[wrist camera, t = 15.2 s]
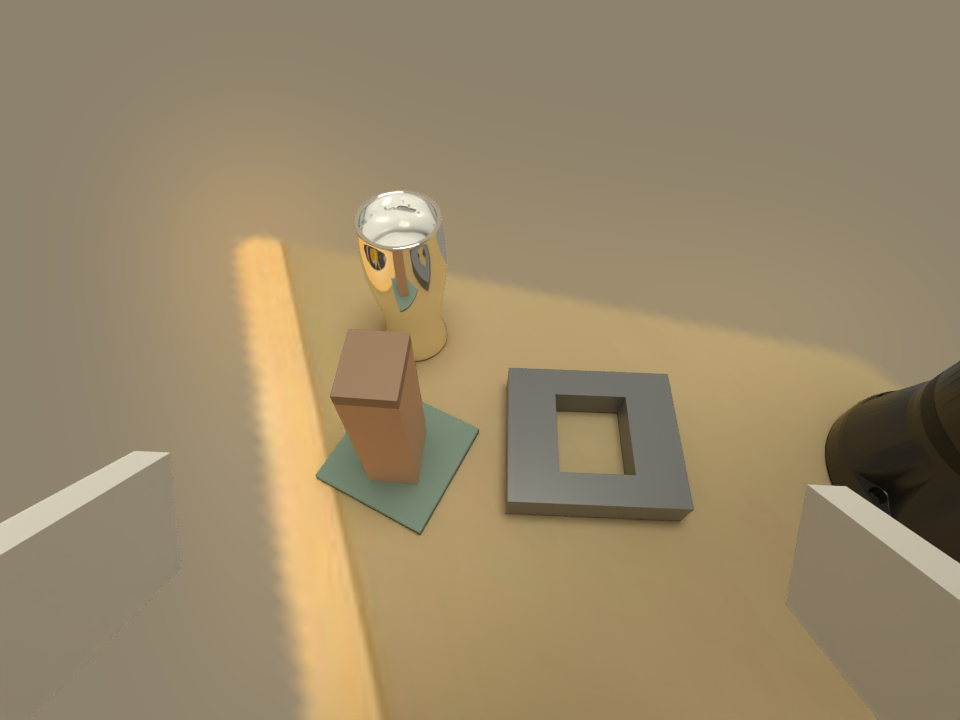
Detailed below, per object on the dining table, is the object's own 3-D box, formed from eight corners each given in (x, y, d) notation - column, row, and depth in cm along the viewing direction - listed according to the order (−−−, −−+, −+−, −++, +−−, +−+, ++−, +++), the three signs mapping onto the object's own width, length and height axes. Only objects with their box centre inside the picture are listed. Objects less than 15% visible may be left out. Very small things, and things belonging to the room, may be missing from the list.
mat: (478, 431, 45) (479, 428, 44) (420, 534, 40) (419, 532, 39) (383, 386, 47) (382, 383, 47) (317, 478, 42) (315, 475, 42)
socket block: (657, 391, 47) (667, 374, 45) (680, 521, 41) (693, 509, 38) (507, 385, 48) (508, 367, 45) (505, 513, 41) (507, 501, 38)
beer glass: (423, 298, 53) (408, 176, 41) (466, 339, 50) (463, 221, 38) (367, 332, 51) (332, 213, 38) (409, 378, 48) (386, 265, 35)
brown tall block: (426, 428, 44) (410, 332, 33) (418, 484, 42) (397, 401, 30) (381, 425, 44) (348, 328, 33) (369, 480, 42) (329, 396, 30)
